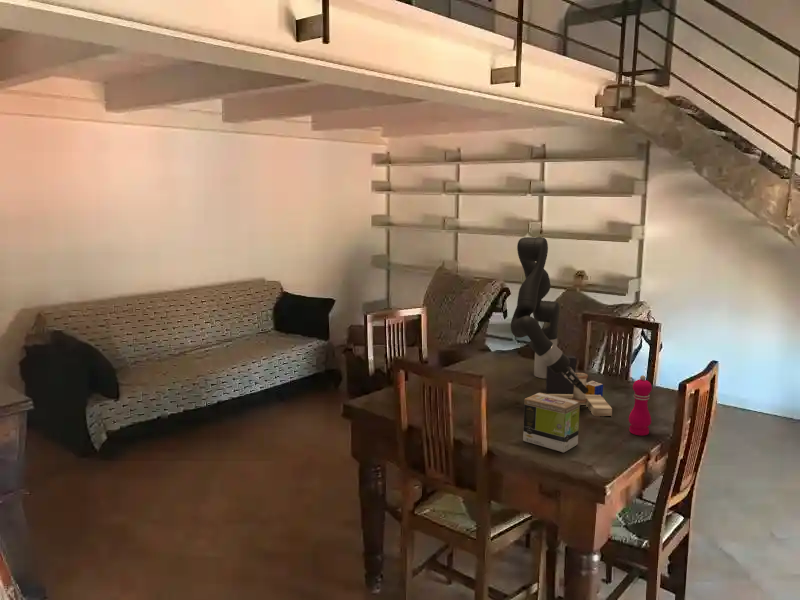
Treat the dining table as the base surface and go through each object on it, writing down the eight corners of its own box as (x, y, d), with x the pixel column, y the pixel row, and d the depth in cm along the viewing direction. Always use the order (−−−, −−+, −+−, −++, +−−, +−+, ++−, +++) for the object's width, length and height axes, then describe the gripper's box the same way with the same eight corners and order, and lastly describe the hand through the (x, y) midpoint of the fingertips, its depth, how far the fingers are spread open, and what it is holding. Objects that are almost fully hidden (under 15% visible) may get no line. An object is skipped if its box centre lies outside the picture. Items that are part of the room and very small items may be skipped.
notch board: (547, 401, 256) (548, 393, 255) (600, 402, 255) (600, 394, 255) (556, 415, 240) (556, 407, 239) (611, 416, 239) (612, 408, 239)
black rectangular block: (572, 391, 269) (574, 355, 266) (574, 394, 265) (576, 358, 262) (545, 390, 270) (547, 354, 267) (546, 393, 266) (548, 357, 263)
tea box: (578, 444, 213) (581, 400, 211) (563, 453, 206) (565, 408, 203) (537, 433, 223) (539, 390, 221) (521, 441, 216) (523, 397, 213)
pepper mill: (632, 426, 229) (636, 371, 226) (653, 431, 225) (657, 375, 221) (624, 432, 224) (628, 375, 220) (645, 437, 219) (650, 379, 216)
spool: (570, 398, 249) (572, 372, 248) (584, 398, 249) (586, 372, 248) (573, 402, 244) (575, 376, 243) (587, 402, 244) (589, 376, 242)
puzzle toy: (592, 393, 266) (592, 380, 265) (602, 397, 262) (603, 383, 261) (583, 396, 262) (583, 382, 261) (593, 399, 258) (594, 385, 257)
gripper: (565, 356, 237) (597, 389, 239) (557, 346, 251) (587, 378, 253) (550, 370, 238) (582, 403, 240) (542, 359, 252) (573, 391, 254)
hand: (584, 390), depth 246 cm, fingers closed on spool, 4 cm apart
